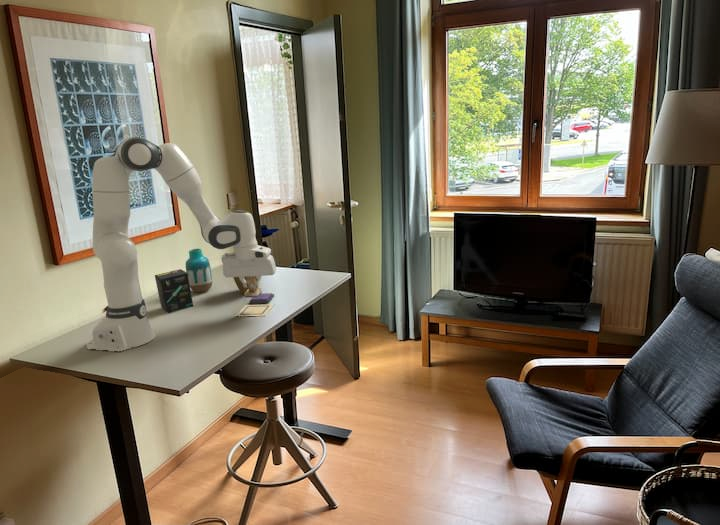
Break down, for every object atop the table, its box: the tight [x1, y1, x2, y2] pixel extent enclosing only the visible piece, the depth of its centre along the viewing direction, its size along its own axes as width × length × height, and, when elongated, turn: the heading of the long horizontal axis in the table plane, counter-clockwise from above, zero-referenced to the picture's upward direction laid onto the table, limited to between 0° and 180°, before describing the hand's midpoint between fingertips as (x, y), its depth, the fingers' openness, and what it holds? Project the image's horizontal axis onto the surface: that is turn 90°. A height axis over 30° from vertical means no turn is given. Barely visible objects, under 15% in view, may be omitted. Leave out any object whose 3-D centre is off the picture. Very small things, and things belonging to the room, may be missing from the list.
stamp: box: [243, 276, 263, 298], centre depth 202 cm, size 5×5×9 cm
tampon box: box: [154, 268, 194, 314], centre depth 215 cm, size 11×9×15 cm
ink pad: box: [249, 292, 275, 305], centre depth 216 cm, size 8×8×2 cm
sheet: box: [235, 303, 275, 318], centre depth 205 cm, size 12×12×1 cm
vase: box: [185, 248, 213, 293], centre depth 233 cm, size 11×11×19 cm
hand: (252, 286), depth 202 cm, fingers closed on stamp, 3 cm apart
